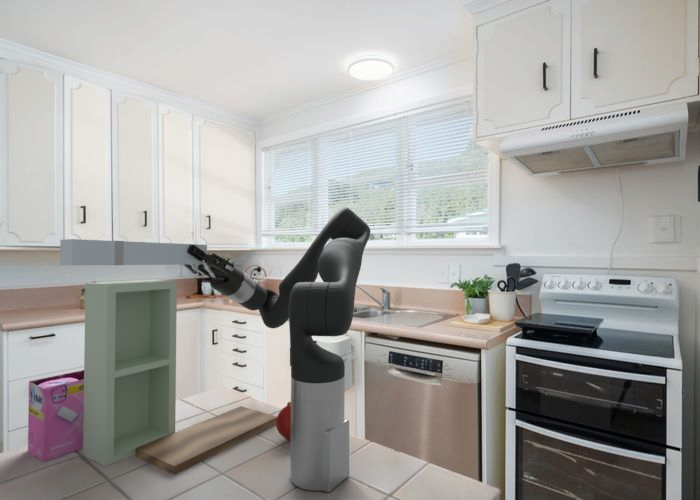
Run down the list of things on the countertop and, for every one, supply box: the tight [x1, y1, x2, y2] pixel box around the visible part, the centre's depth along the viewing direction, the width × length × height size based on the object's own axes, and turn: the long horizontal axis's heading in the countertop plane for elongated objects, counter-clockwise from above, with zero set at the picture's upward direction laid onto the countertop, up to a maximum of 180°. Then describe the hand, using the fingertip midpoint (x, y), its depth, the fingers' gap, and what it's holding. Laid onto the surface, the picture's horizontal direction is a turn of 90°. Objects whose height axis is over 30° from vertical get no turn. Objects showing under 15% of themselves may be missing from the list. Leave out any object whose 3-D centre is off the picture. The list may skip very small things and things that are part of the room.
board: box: [134, 405, 278, 476], centre depth 84 cm, size 12×26×2 cm, turn 147°
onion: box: [275, 401, 291, 442], centre depth 84 cm, size 6×6×8 cm
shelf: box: [82, 279, 178, 467], centre depth 81 cm, size 8×14×32 cm, turn 147°
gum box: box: [27, 369, 84, 462], centre depth 87 cm, size 24×8×14 cm, turn 146°
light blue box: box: [59, 238, 208, 266], centre depth 83 cm, size 5×28×5 cm, turn 148°
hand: (182, 248), depth 91 cm, fingers closed on light blue box, 4 cm apart
